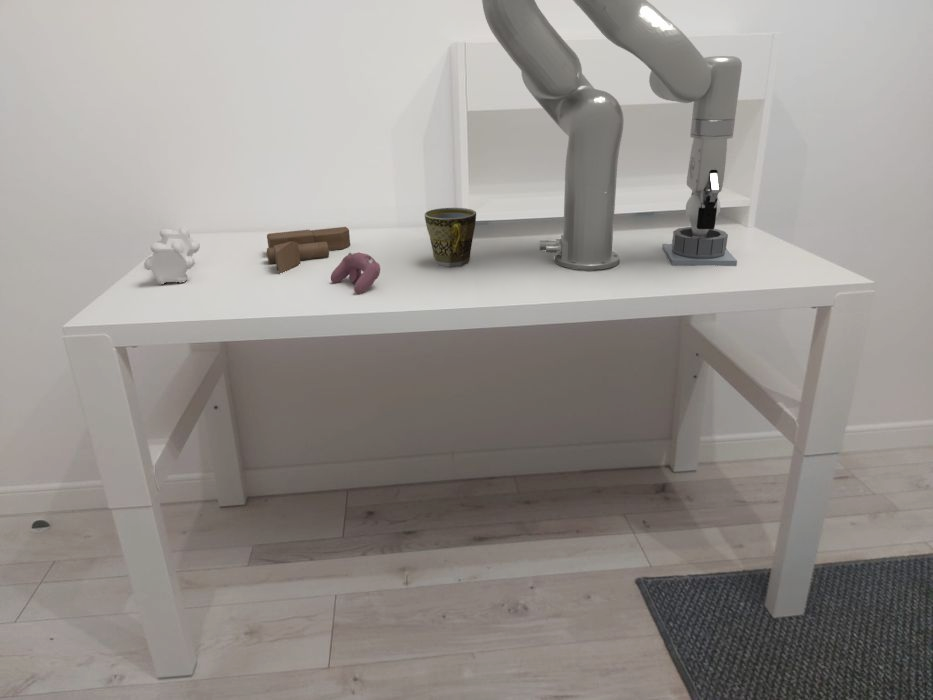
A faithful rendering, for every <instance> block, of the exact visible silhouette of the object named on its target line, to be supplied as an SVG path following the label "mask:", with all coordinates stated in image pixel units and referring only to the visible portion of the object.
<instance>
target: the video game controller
mask: <svg viewBox="0 0 933 700" xmlns="http://www.w3.org/2000/svg"><path fill="white" fill-rule="evenodd" d="M380 274H381V266H380V264H379V262H377V261H376V260H375V258H374V257H373V256H371V255H369V254H367V253H363V252H359V251H358V252H352V253H351V252H348V254H347V255H345V256H344V257H343V259H342V260H341V262H340V263H339V264H338V265H337V266H336V268H334V270H333V271H332V272H331V275H330V281H331V282H332V283H333V284H338V283H340V282H342V281H343V280H345V279H346V278H348V281H349V282H351V283H353V284H354V285H353V286H354V287H353V289H354V293H355V294H357V295H360V294H363V293H365V292H367V291H368V290H369V289H370V288H371V287H372V286H373V284H374V283H375V281H376V280H377V279H378V278H379V276H380ZM348 276H349V277H348Z"/></svg>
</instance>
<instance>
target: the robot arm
mask: <svg viewBox="0 0 933 700" xmlns="http://www.w3.org/2000/svg"><path fill="white" fill-rule="evenodd" d="M572 1H573V3H575V4H576V6H577V7H579V8H580V10H581V11H582V12H583V13H584V14H585V16H587V18H588V19H589V20H590V21H591V22H592V23H593V25H594V26H595V27H596V28H597V30H598V31H599V32H600V33H601V34H602V36H604V37H605V38H606V39H607V40H609V41H610V42H611V43H612V44H614V45H615V46H617V47H618V48H621V49H623V50H625V51H627V52H628V53H630V54H632V55H633V56H634V57H636V58H637V59H638V60H639V61H641V62H642V63H643V64H644V65H645V66H646V67H648V69H649V70H650V74H649V80H648V82H649V87H650V89H651V91H652V92H653V93H654V95H656V96H657V97H658V98H660V99H662V100H664V101H665V100H666V101H671V102H677V103H680V104H681V103H682V104H683V103H684V104H690V103H692V104H693V107H692V116H691V122H690V123H691V125H690V135H689V137H690V138H692V139H693V140H692V144H691V148H690V155H689V163H688V169H687V176H686V186H687V187H688V188H689V189H690V190H691V193H690V194H691V195H690V197H691V196H692V195H693V194H695V193H696V194H698V193H699V192H701V208H699V211H698V219H697V228H698V229H716V228H715V227H716V219H717V218H716V212H717V200H718V199H719V194H720V192H722V190H723V187H724V179H725V170H726V162H727V151H728V147H727V145H728V140H729V139H733V137H734V129H735V123H736V114H737V108H738V107H737V106H738V97H739V91H740V84H741V83H740V82H741V75H742V64H743V63H742V61H741V59H740V58H739V57H738V56H728V55H724V56H723V55H722V56H721V55H720V56H719V55H715V56H713V55H712V56H707V57H706V56H705V57H704V56H703V55H702V53H701V52H700V51H699V50H698V49H697V47H696V46H695V45H694V44H693V42H691V40H690V39H689V38H688V37H687V36H686V34H684V33H683V32H682V30H681V29H680V28H679V27H677V25H675V23H674V22H672V21H671V20H670V19H669V18H668V17H666V16H665V15H664V14H663V13H662V12H661V11H660V10H658V9H657V8H656V7H655V6H654V5H653V4H652V3H651V2H649V1H648V0H572ZM481 2H482V10H483V13H484V17H485V21H486V22H487V23H486V24H487V25H488V27H489V30H490V31H491V33H492V35H493V36H494V37H495V39H496V41H497V42H498V43H499V44H500V46H502V49H504V51H505V52H506V53H507V55H508V56H509V57H510V59H511V60H512V61H513V62H514V64H515V65H516V66H517V67H518V69H519V70H520V71H521V77H522V82H523V84H524V86H525V88H526V89H527V91H528V92H529V93H530V94H531V96H532V97H533V98H534V99H535V100H536V102H537V103H538V104H539V105H540V107H542V109H543V110H544V111H545V112H546V113H547V115H548V116H550V118H551V119H552V120H553V122H555V124H556V125H557V126H558V128H559V129H561V130H562V131H563V132H564V134H566V135H567V136H568V142H567V148H566V155H565V156H566V159H565V168H564V170H565V171H564V172H565V173H564V203H563V205H564V206H563V227H562V229H563V230H562V231H563V232H562V233H563V234H561V235H560V238H556V239H555V240H544V239H543V240H539V251H545V253H555V254H554V262H555V263H556V264H557V265H558V266H560V267H564V268H567V269H573V270H582V271H597V270H605V269H610V268H614V267H616V266H617V265H619V264H620V255H619V254H618V253H617V252H615V251H613V239H614V238H613V237H614V224H615V223H614V222H615V221H614V220H615V208H616V207H615V206H616V192H617V191H616V190H617V178H618V176H617V175H618V162H619V153H620V148H621V144H622V143H621V142H622V137H623V132H624V113H623V110H622V107H621V105H620V102H619V101H618V100H617V98H615V97H614V96H613V95H612V94H611V93H608V92H607V91H604V90H602V89H601V90H600V89H596V88H594V86H593V85H592V84H591V83H590V81H589V80H588V79H587V77H586V76H585V75H584V74H583V70H582V69H583V68H582V64H581V61H580V58H579V57H578V55H577V53H576V52H575V51H574V50H573V49H572V48H571V46H569V44H568V43H567V42H566V41H565V40H564V38H562V37H561V35H560V34H559V33H558V31H557V30H556V29H555V27H553V25H552V24H551V23H550V22H549V20H548V19H547V18H546V16H545V14H544V13H543V12H542V11H541V9H540V7H539V6H538V5H537V1H535V0H481ZM705 196H707V197H706V200H705ZM717 198H718V199H717Z"/></svg>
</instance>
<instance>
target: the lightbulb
mask: <svg viewBox="0 0 933 700" xmlns="http://www.w3.org/2000/svg"><path fill="white" fill-rule="evenodd" d="M706 197H707V196H705V200H706ZM717 199H718V200H717V212H716V219H717V218H718V216H719V215H720V211H721V202H720V200H719V197H718V198H717ZM699 208H701V192H699V193H698V194H696V193H695V194H693V195H692V196H691V195H690V197H689V199H688V200H687V201H686V204H685V214H686V217H687V218H688V220H689V223H690V225H691V226H690V227H691V228H692V232H693V234H692V235H693V236H692V237H696V238H706V237H707V233H708V231H709V229H698V228H697V219H698V211H699Z"/></svg>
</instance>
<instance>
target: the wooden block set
mask: <svg viewBox="0 0 933 700" xmlns="http://www.w3.org/2000/svg"><path fill="white" fill-rule="evenodd" d="M266 238H267V240H266V241H267V246H268V247H267V248H266V256H267V261H268V264H270V263H273V264H275V266H276V269H277V271H279V272H278V274H279V275H281V274H280V273H282V274H284V273H285V271H286V272H289V271H290V270H292V269H294V268H296V267H299V266H300V265H301V261H304V260H305V261H306V260H314V259H315V258H316V259H322V258H324V259H325V258H328V257H330V252H332V251H341V250H344V249H347V248H349V247H350V246H351V239H350V238H351V236H350V229H349V228H348V227H347V226H342V227H329V228H320V229H302V230H301V229H299V230H291V231H281V232H271V233H267V234H266ZM299 264H300V265H299ZM283 272H284V273H283Z"/></svg>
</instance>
